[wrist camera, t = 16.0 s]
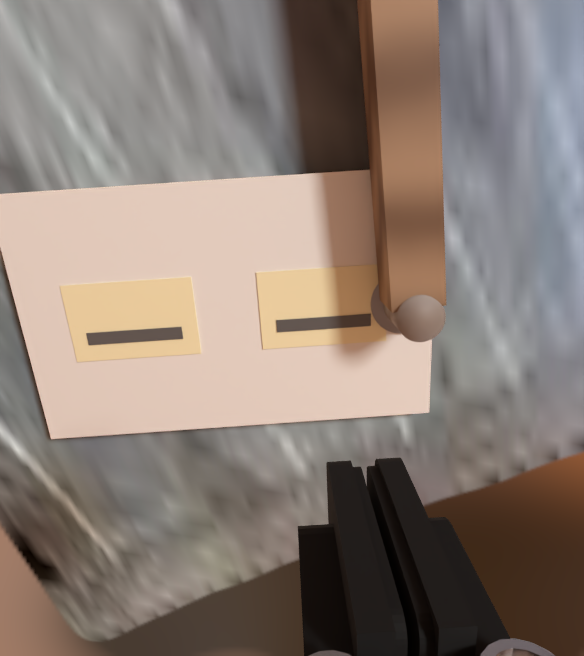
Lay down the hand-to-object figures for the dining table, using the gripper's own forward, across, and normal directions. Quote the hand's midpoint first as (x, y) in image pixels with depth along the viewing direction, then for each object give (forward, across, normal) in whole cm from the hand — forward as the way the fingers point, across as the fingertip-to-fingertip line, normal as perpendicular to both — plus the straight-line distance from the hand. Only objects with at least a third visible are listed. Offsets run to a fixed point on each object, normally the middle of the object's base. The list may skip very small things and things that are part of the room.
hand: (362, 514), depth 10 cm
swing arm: (+18, -5, -11) cm, 21 cm away
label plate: (+19, +5, 0) cm, 20 cm away
